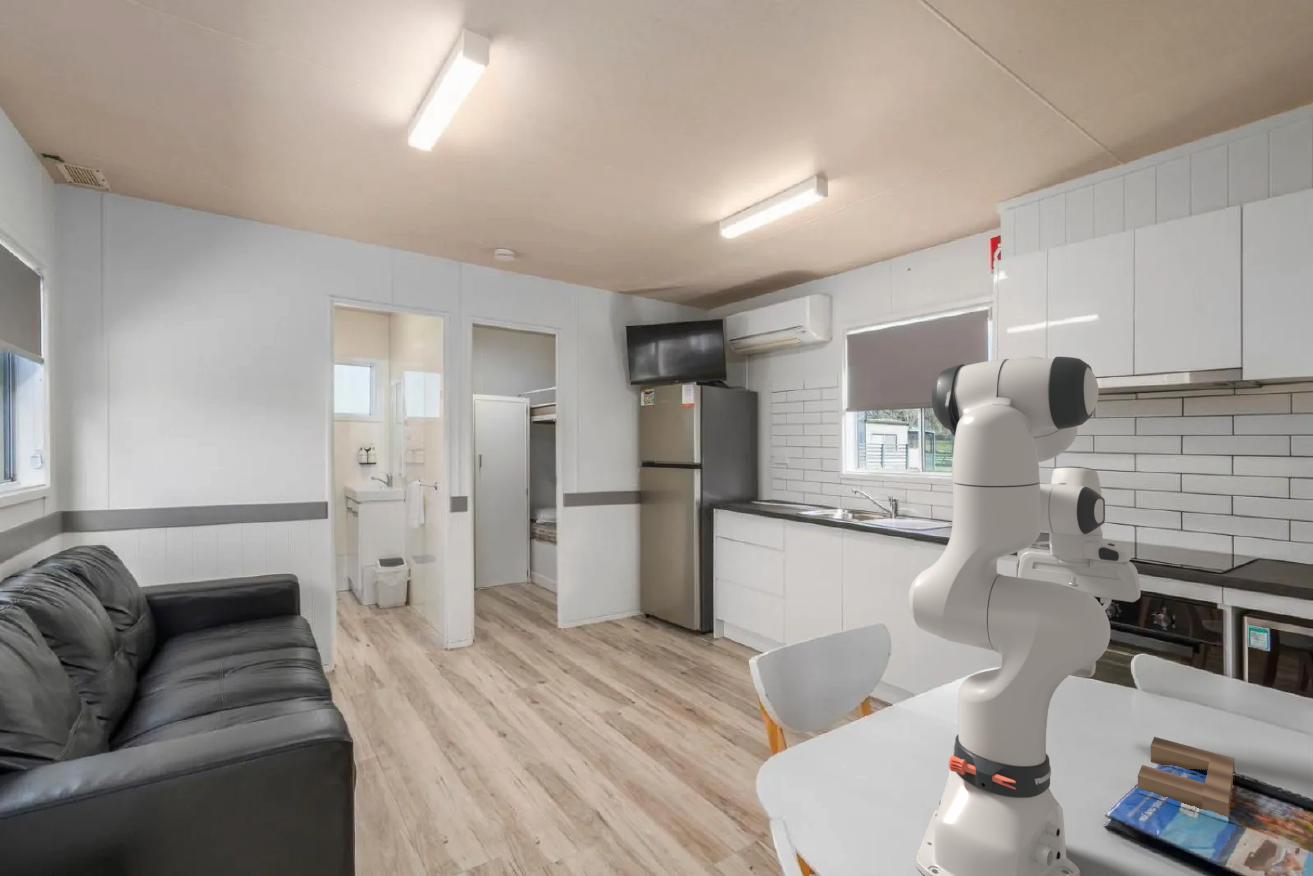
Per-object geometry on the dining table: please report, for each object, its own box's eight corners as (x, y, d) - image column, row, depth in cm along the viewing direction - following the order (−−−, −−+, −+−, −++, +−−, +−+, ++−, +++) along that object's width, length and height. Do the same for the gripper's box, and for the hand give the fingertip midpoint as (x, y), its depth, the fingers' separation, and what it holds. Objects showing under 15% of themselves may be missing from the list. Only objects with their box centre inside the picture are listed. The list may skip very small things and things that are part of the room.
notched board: (1228, 823, 92) (1228, 803, 92) (1137, 793, 100) (1137, 775, 100) (1234, 775, 106) (1234, 758, 106) (1154, 752, 114) (1154, 736, 114)
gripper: (1012, 542, 126) (1013, 608, 125) (1136, 555, 111) (1137, 629, 110) (1021, 540, 130) (1022, 603, 129) (1141, 551, 115) (1142, 623, 115)
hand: (1076, 616), depth 120 cm, fingers closed on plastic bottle, 6 cm apart
